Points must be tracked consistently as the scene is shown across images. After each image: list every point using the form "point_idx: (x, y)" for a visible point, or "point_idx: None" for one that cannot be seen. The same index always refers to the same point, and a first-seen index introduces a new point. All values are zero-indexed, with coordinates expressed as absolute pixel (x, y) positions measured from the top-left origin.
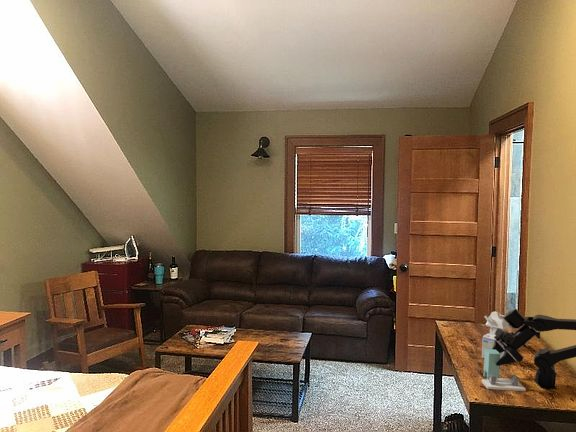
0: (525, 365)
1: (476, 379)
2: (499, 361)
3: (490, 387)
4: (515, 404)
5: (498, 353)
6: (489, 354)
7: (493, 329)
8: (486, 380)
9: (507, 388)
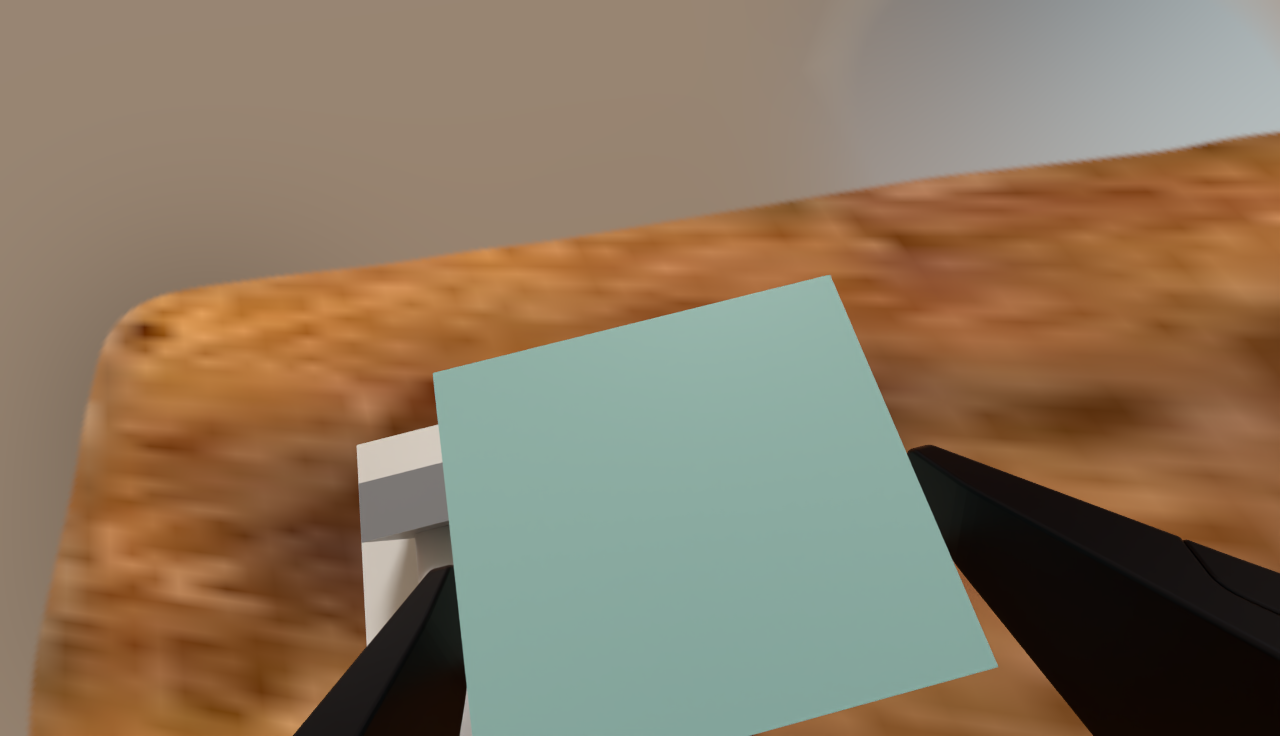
0: None
1: None
2: (352, 670)
3: (364, 477)
4: (30, 718)
5: (536, 727)
6: (448, 387)
7: None
8: None
9: None
